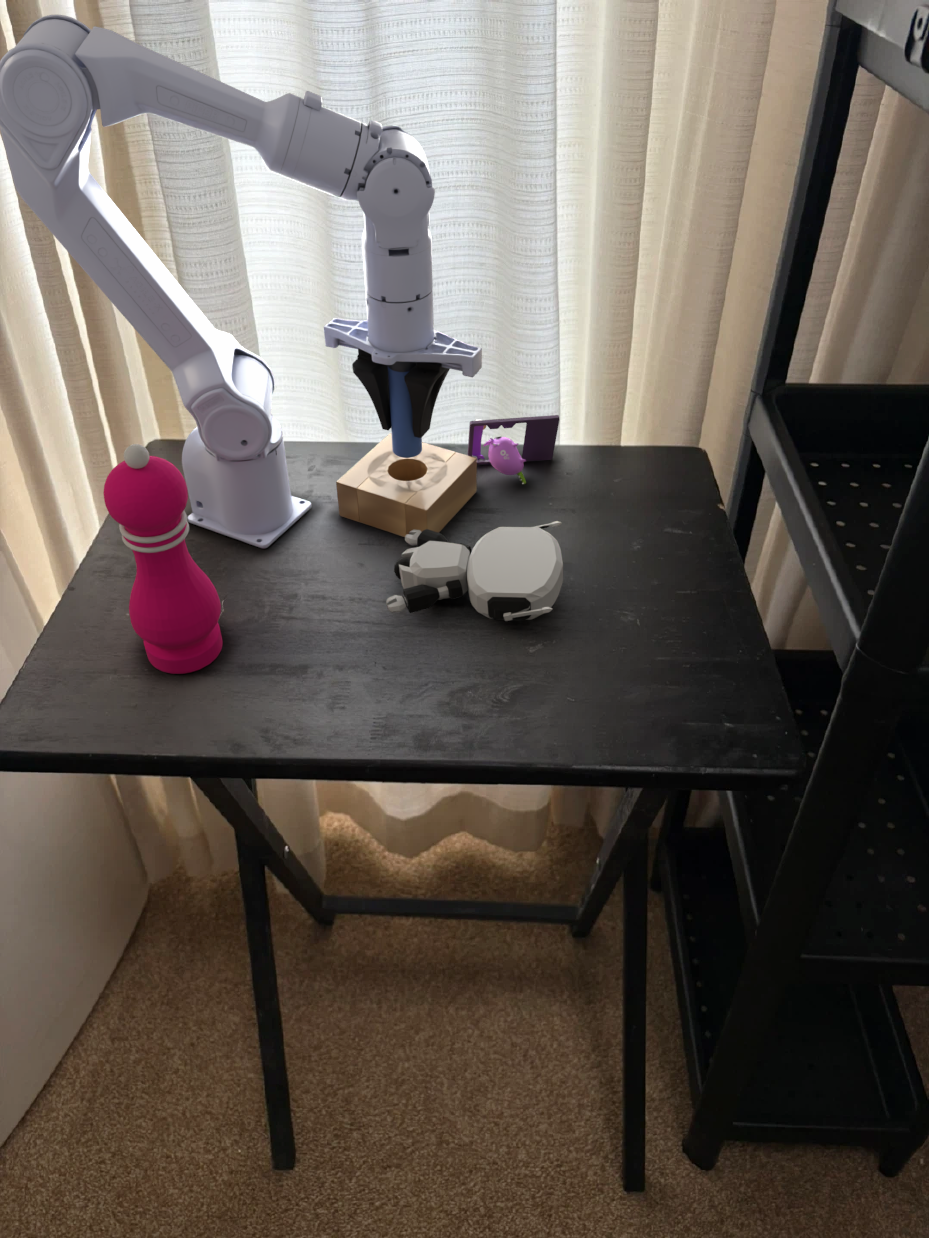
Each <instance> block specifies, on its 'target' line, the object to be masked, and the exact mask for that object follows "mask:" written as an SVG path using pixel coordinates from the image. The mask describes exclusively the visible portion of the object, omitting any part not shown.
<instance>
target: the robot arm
mask: <svg viewBox="0 0 929 1238" xmlns="http://www.w3.org/2000/svg"><path fill="white" fill-rule="evenodd" d="M97 110H99V111H100V119H101V126H102V128H105V127H110V126H114V125H117V124H119V123H122V122H124V121H127V120H130V119H132V118H135V117H138V116H141V115H144V114H145V115H146V114H150V115H154V116H157V117H160V118H163V119H166V120H169V121H172V122H175V123H178V124H182V125H183V126H188V127H190V128H193V129H196V130H200V131H202V132H206V133H209V134H212V135H215V136H217V137H221V138H223V139H227V140H229V141H233V142H235V143H239V144H242V145H245V146H248V147H251V148H253V149H255V151H256V152H257V154H258V155H259V157H260V158H261V160H262V162H263V165H264V166H265V168H266V169H267V171H268V172H270V173H272V174H275V175H278V176H280V177H283V178H285V179H288V180H291V181H294V182H296V183H299V184H301V185H304V186H306V187H310V188H312V189H314V190H317V191H320V192H322V193H325V194H327V195H330V196H333V197H335V198H339V199H341V200H344V201H355V202H358V205H359V207H360V209H361V211H362V213H363V224H364V228H363V232H362V234H361V250H362V263H363V276H364V277H363V278H364V288H365V289H364V293H365V305H366V308H365V309H366V320H362V319H361V320H359V319H354V320H353V319H344V318H337V317H333V318H332V319H331V320H330V321H329V322H328V323H326V324H325V325H324V326H323V334H324V344H325V347H328V348H332V349H336V348H338V347H339V346H340V347H346V348H351V349H355V350H357V358H356V359H355V360H354V361H353V362H352V365H351V366H352V373H353V374H354V375H355V377H356V378H357V379H358V380H359V381H360V382H361V384H362V387H364V389H365V390H366V392H367V394H368V396H369V398H370V400H371V401H372V404H373V406H374V408H375V412H376V414H377V417H378V420H379V423H380V426H381V429H382V430H383V431H390V430H391V414H390V397H389V379H388V365H392V364H394V363H395V362H396V361H400V362H416V366H415V367H413V368H412V369H411V370H410V371H409V372H408V373H407V374H406V375H405V376H404V381H405V383H406V386H407V388H408V392H409V396H410V400H411V406H412V426H413V433H414V437H418V438H422V439H423V437H424V436H425V435H426V434H427V433H428V431H429V430H430V429H431V424H432V419H433V418H432V417H433V413H434V409H435V405H436V402H437V398H438V396H439V393H440V390H441V388H442V386H443V384H444V381H445V379H446V378H447V375H448V373H449V372H450V370H453V371H459V372H462V376H464V377H468V378H474V377H475V376H476V375H477V374H478V373H479V372H480V370H481V369H482V367H483V348H482V346H481V347H480V346H477V345H472V344H469V343H466V342H464V341H462V340H459V339H457V338H455V337H453V336H451V335H448V334H446V333H443V332H441V331H439V330H436V329H435V323H434V320H435V319H434V279H433V277H434V276H433V242H432V240H433V239H432V238H433V237H432V232H431V231H430V229H429V227H430V224H431V214H430V210H431V208H432V206H433V203H434V200H435V195H436V189H435V188H434V187H433V181H432V176H431V172H430V167H429V163H428V159H427V156H426V153H425V151H424V148H423V147H422V146H421V144H420V142H419V141H418V140H417V139H416V137H414V136H413V135H412V134H410V133H408V132H407V131H405V130H404V129H403V128H402V127H401V126H400V125H395V124H387V125H385V124H384V125H383V124H382V123H381V122H378V121H376V120H374V119H369V121H368V124H367V123H365V122H362V121H361V120H360V121H359V120H357V119H355V118H353V117H350V116H347V115H345V114H343V113H340V112H338V111H335V110H333V109H330V108H328V107H326V106H323V97H322V95H320V94H317V93H315V92H312V91H310V90H306V91H305V92H304V95H303V97H301V96H299V95H296V94H293V93H291V92H288V93H284V94H283V95H281V96H279V97H277V98H275V99H272V100H268V101H265V100H262V99H259V98H257V97H255V96H254V95H252V94H249V93H247V92H245V91H242V90H240V89H238V88H236V87H234V86H231V85H229V84H227V83H225V82H224V81H221V80H219V79H216V78H214V77H212V76H210V75H207V74H205V73H204V72H201V71H199V70H196V69H194V68H192V67H190V66H187V65H186V64H184V63H181V62H179V61H177V60H175V59H172V58H170V57H168V56H165V55H164V54H162V53H159V52H157V51H155V50H152V49H150V48H148V47H146V46H144V45H142V44H139V42H136V41H134V40H131V39H130V38H128V37H126V36H124V35H122V34H120V33H118V32H116V31H114V30H112V29H108V28H104V27H100V26H95V25H94V26H93V27H92V28H90V27H88V26H87V25H86V24H84V23H83V22H82V21H80V20H78V19H76V18H74V17H72V16H68V15H64V14H48V15H44V16H41V17H39V18H37V19H36V20H34V21H33V22H32V23H31V24H30V25H29V26H28V27H27V29H26V30H25V31H24V33H23V36H22V38H21V39H20V40H19V41H18V42H17V44H15V46H14V47H12V48H11V49H9V50H8V51H7V52H6V53H5V54H4V55H3V56H2V57H1V59H0V134H1V138H2V142H3V145H4V150H5V154H6V157H7V162H8V165H9V169H10V173H11V177H12V181H13V184H14V188H15V191H16V192H17V193H18V195H19V196H20V198H21V200H23V202H24V203H25V204H26V205H27V207H28V208H29V209H30V210H31V211H32V212H33V214H34V215H36V217H37V218H38V219H39V220H40V221H41V222H42V224H43V225H44V226H45V227H46V228H47V229H48V231H49V232H50V233H51V234H52V236H54V238H55V239H56V240H57V241H58V242H59V243H60V245H61V246H62V247H63V248H64V249H65V250H66V251H67V253H68V254H69V255H70V256H71V257H72V259H73V260H74V261H75V262H76V263H77V264H78V265H79V267H81V269H82V270H83V271H84V272H85V273H86V275H87V276H88V277H89V278H90V279H91V280H92V281H93V283H94V284H95V285H96V286H97V287H98V288H99V289H100V291H101V292H102V293H103V294H104V295H105V297H107V299H108V301H110V302H111V304H113V306H114V307H115V309H117V311H118V312H120V314H121V315H122V316H123V317H124V319H125V320H126V321H127V322H128V323H129V324H130V325H131V326H132V328H133V329H134V330H135V331H136V333H137V334H139V336H140V337H142V339H143V340H144V341H145V343H146V344H147V345H148V346H149V347H150V348H151V350H152V351H153V352H154V353H155V355H157V356H158V358H159V359H160V360H161V361H162V362H163V364H164V365H165V366H166V367H167V368H168V369H169V371H170V372H171V373H172V377H173V378H174V381H175V384H176V388H177V390H178V394H179V396H180V400H181V402H182V405H183V407H184V408H185V410H187V412H188V413H189V414H190V415H191V417H192V418H193V420H194V422H195V424H196V427H194V428H193V429H192V430H191V432H190V433H189V434H188V435H187V436H186V437H187V438H186V439H185V441H184V444H183V447H182V452H181V467H182V471H183V477H184V479H185V482H186V485H187V490H188V500H189V502H190V507H191V513H190V514H189V515H187V522H188V523H190V524H193V525H196V526H198V527H200V528H204V529H206V530H209V531H212V532H215V533H218V534H220V535H223V536H227V537H229V538H231V539H235V540H238V541H240V542H243V543H246V544H249V545H252V546H254V547H258V548H260V549H267V548H269V547H270V546H271V545H272V544H273V543H274V542H275V541H277V539H278V538H279V537H281V536H282V535H283V534H284V533H285V532H286V531H287V530H288V529H290V528H291V527H292V526H293V525H294V524H295V523H296V522H297V521H298V520H299V519H300V518H302V517H303V516H304V515H305V514H306V513H307V512H308V511H310V510H311V509H312V507H313V506H312V502H311V501H309V500H306V499H303V498H300V497H297V496H294V495H292V492H291V491H292V490H291V484H290V477H289V469H288V464H287V463H288V461H287V456H286V447H285V441H284V434H283V428H282V425H281V424H280V423H279V421H278V420H277V418H275V417H274V415H273V413H272V409H273V407H272V406H273V394H274V392H275V386H276V385H275V384H276V381H275V375H274V373H273V370H272V368H271V366H270V365H269V364H268V362H266V360H265V359H263V358H262V357H261V356H259V355H258V354H256V353H254V352H252V351H250V350H248V349H246V348H244V346H242V345H241V344H240V343H239V342H238V340H236V338H235V337H234V336H233V335H232V333H229V332H227V331H223V330H219V329H217V328H216V327H215V326H214V325H213V323H211V322H210V320H209V319H208V318H207V316H206V315H205V314H204V313H203V311H202V310H201V309H200V308H199V307H198V305H197V304H196V303H195V302H194V300H193V299H192V298H191V297H190V295H189V294H188V293H187V292H186V290H185V289H184V288H183V287H182V285H181V284H180V283H179V282H178V280H177V279H176V278H175V277H174V275H173V274H172V273H171V272H170V271H169V269H168V268H167V267H166V265H165V264H164V263H163V262H162V261H161V259H160V258H159V257H158V256H157V254H156V253H155V252H154V251H153V249H152V248H151V247H150V246H149V244H148V243H147V242H146V240H144V238H143V237H142V236H141V234H139V232H138V231H137V229H136V228H135V227H134V226H133V225H132V224H131V222H130V221H129V219H128V218H127V217H126V216H125V214H124V213H123V212H122V210H121V209H120V208H119V207H118V206H117V205H116V204H115V202H114V201H113V200H112V198H111V197H110V196H109V195H108V194H107V192H106V191H105V190H104V188H103V187H102V186H101V185H100V184H99V182H98V180H96V179H95V176H93V175H92V174H91V171H90V170H89V158H90V149H91V140H92V131H93V129H92V124H93V120H94V118H95V116H96V113H97Z"/></svg>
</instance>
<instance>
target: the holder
mask: <svg viewBox="0 0 929 1238" xmlns="http://www.w3.org/2000/svg"><path fill="white" fill-rule="evenodd" d="M477 461H478V459H477V457H476V456H472V457H471V456H468V454H465V453H464V454H463V453H461V452H457V451H454V450H451V449H447V448H444V447H441V446H436V445H433V444H430V443H426V442H423V441H422V451H421V453H420V454H419V455H417V456H415V457H411V458H403V457H399V456H397V455H395V454H394V452H393V448H392V432H389V433H388V434H387V435H386V436H385V437H384V438H383V439H382V440H380V442H378V443H377V444H376V445H375V446H374V447H372V449H370V451H368V452H367V453H366V454H365V455H364V456H363V457H362V458H361V459H359V460H358V461H357V462H356V463H355V464H354V465H353V466H352V467H351V468H350V469H349V470H347V471H346V472H345V473H344V474H343V475H342V476H341V477H339V479H337V480H336V482H335V485H336V486H335V487H336V494H337V505H338V514H339V517H342V518H346V519H348V520H351V521H354V522H358V523H361V524H364V525H367V526H370V527H373V528H376V529H378V530H382V531H384V532H388V533H391V534H394V535H397V536H400V537H403V538H405V536H406V535H407V534H409V532H410V531H412V530H413V529H415V530H420V531H421V532H422V531H423V530H425V529H428V530H432V531H435V532H438V533H441V531H442V530H443V529H444V528H445V527H446V526H447V525H448V523H449V522H450V521H451V520H452V519H453V518H454V517H455V516H456V514H457V513H458V512H459V511H460V510H461V509H463V507H464V506H465V505H466V504H467V502H469V501H470V500H471V499H472V497H473V496H474V495H475V494H476V493H477V491H478V489H477V488H478V487H477V486H478V484H477V483H478V481H477V480H478V476H477V474H478V473H477V472H478V470H477V469H478V465H477Z"/></svg>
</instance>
